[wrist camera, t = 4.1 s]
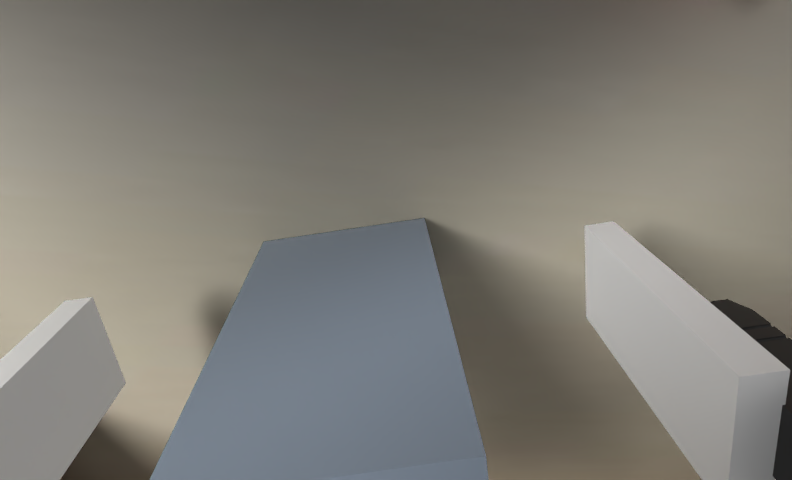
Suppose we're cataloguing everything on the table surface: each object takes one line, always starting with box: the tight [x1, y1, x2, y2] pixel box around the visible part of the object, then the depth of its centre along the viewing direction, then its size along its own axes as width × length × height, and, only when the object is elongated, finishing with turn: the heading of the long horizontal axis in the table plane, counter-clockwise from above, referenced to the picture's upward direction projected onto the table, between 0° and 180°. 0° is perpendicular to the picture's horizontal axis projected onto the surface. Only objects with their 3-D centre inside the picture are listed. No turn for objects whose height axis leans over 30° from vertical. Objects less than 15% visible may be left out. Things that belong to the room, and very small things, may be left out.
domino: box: [150, 218, 488, 480], centre depth 13 cm, size 2×5×10 cm, turn 98°
